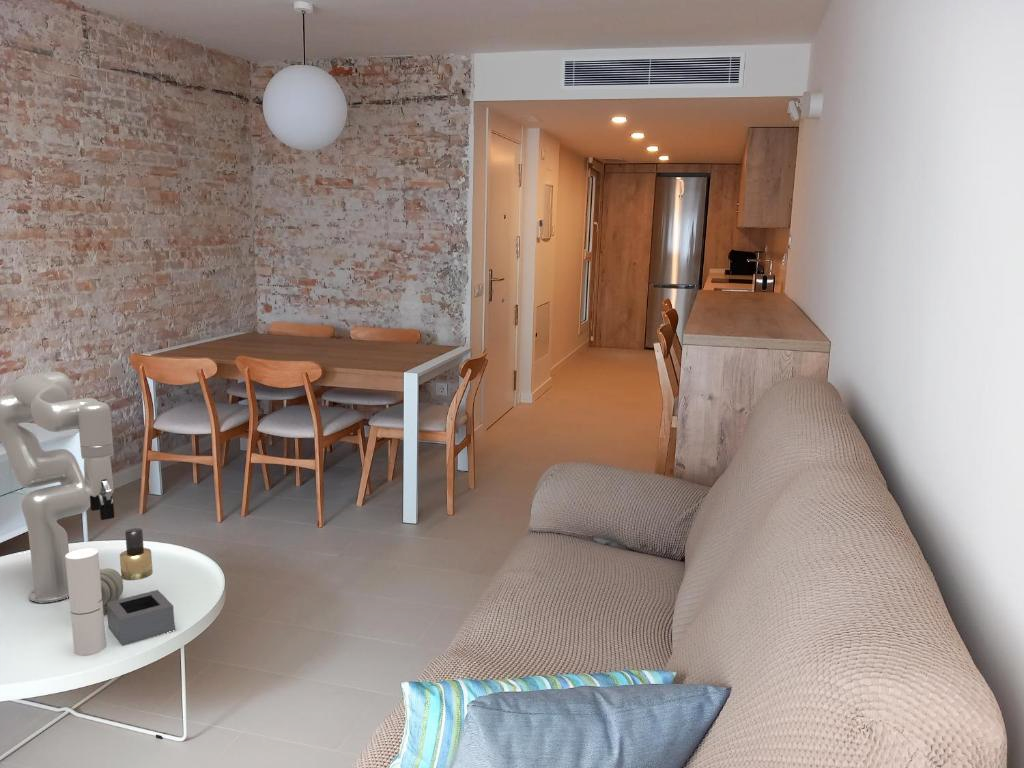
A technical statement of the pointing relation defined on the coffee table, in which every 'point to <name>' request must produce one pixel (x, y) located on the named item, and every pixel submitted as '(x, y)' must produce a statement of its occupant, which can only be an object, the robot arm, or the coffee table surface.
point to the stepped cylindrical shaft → (135, 557)
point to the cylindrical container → (85, 601)
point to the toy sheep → (110, 586)
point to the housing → (140, 617)
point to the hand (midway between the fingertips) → (102, 514)
